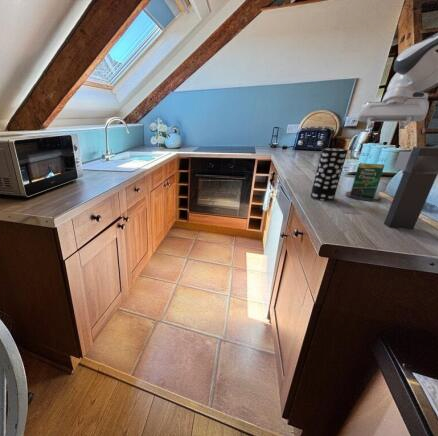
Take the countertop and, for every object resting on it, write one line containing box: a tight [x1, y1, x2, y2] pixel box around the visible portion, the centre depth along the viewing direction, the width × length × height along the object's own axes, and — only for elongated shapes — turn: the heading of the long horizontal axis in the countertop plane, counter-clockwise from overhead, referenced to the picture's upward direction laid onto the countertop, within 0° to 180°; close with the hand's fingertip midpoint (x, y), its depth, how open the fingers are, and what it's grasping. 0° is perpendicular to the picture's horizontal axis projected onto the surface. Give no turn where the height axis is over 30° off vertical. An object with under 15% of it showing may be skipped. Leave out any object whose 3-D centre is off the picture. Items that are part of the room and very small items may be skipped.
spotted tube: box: [309, 147, 348, 202], centre depth 99 cm, size 8×8×20 cm
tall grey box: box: [383, 146, 438, 230], centre depth 74 cm, size 8×6×24 cm
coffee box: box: [350, 162, 385, 197], centre depth 101 cm, size 8×3×13 cm, turn 40°
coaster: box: [344, 190, 380, 202], centre depth 103 cm, size 11×11×1 cm
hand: (385, 127), depth 98 cm, fingers open, 8 cm apart
